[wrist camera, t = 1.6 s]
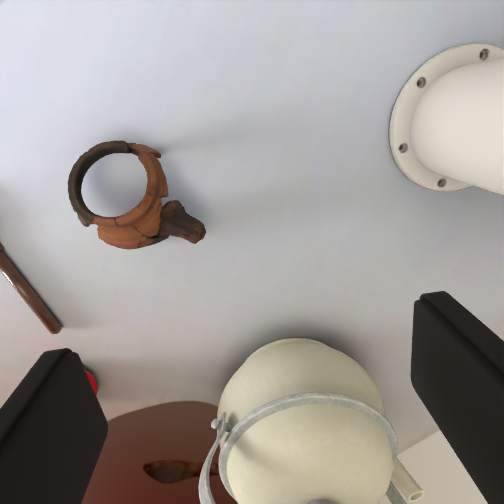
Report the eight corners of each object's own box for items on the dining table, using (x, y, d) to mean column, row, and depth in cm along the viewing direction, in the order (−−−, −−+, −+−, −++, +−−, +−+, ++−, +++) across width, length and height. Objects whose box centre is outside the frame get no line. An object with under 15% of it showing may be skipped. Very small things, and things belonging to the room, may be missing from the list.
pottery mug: (90, 237, 36) (37, 219, 27) (125, 153, 37) (84, 112, 28) (199, 276, 35) (177, 270, 26) (231, 189, 36) (221, 157, 27)
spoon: (78, 322, 39) (74, 328, 38) (43, 336, 39) (38, 343, 38) (-31, 178, 32) (-40, 181, 31) (-71, 198, 33) (-81, 201, 32)
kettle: (183, 406, 45) (131, 726, 22) (245, 293, 39) (265, 568, 16) (346, 457, 50) (443, 756, 27) (422, 364, 44) (631, 647, 21)
